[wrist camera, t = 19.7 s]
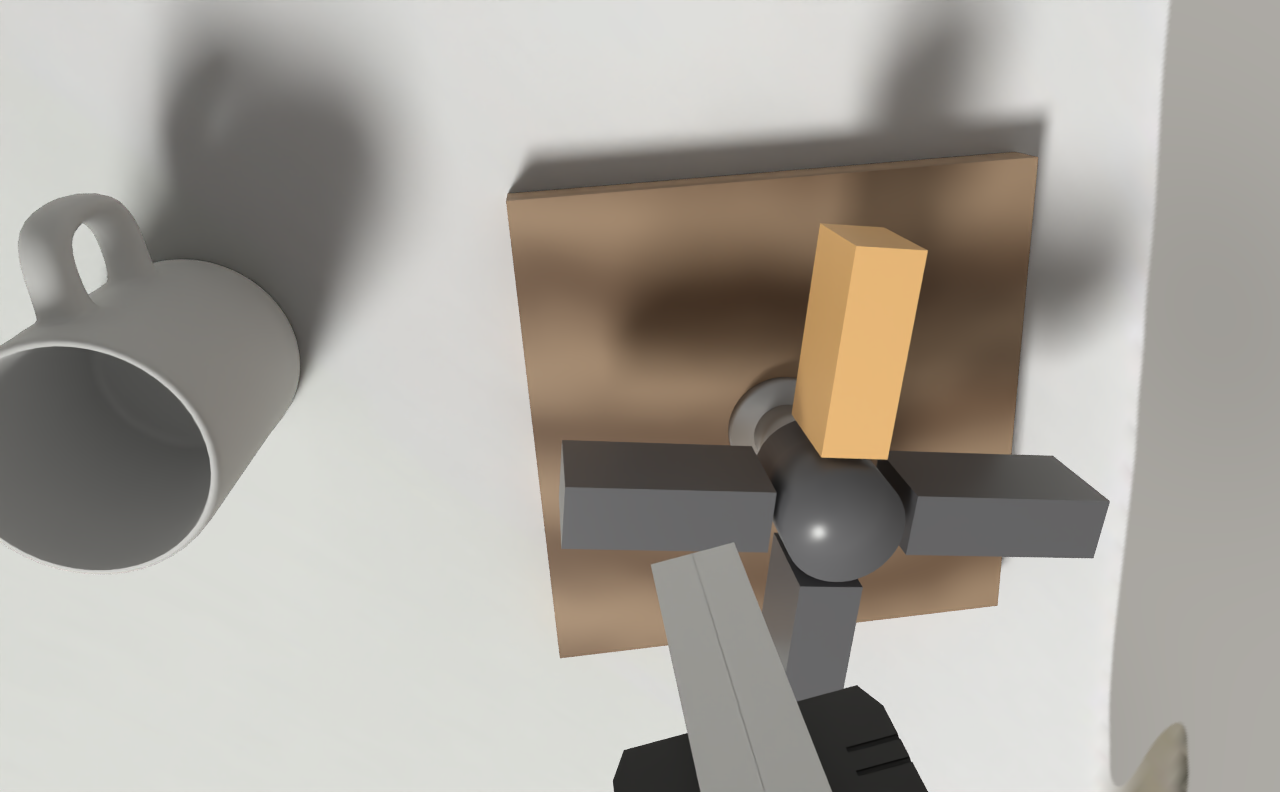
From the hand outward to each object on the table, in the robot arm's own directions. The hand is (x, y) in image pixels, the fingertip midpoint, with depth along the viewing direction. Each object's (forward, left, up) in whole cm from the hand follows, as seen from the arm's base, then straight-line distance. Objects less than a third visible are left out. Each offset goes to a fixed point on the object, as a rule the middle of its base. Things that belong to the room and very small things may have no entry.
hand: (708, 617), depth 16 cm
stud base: (+7, +7, -26) cm, 27 cm away
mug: (0, -18, -26) cm, 31 cm away
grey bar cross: (+7, +7, -19) cm, 22 cm away
